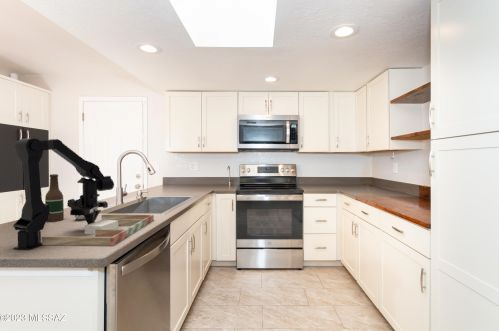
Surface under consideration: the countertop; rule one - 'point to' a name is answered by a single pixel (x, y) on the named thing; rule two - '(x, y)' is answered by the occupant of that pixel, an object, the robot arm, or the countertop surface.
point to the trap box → (104, 232)
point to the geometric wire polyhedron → (79, 217)
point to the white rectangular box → (101, 226)
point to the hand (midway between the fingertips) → (90, 226)
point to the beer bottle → (55, 200)
